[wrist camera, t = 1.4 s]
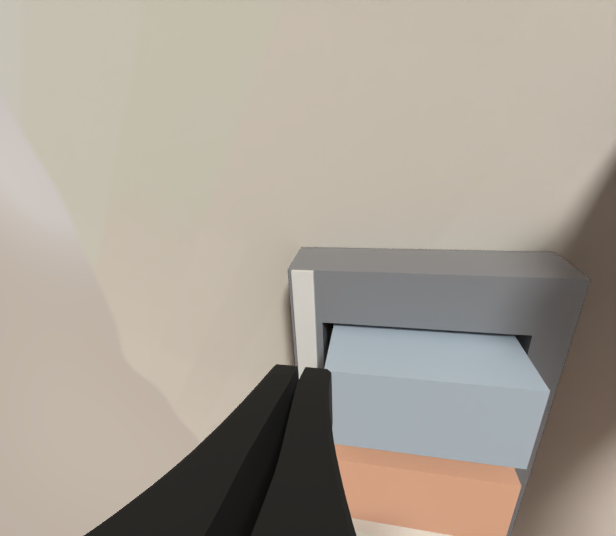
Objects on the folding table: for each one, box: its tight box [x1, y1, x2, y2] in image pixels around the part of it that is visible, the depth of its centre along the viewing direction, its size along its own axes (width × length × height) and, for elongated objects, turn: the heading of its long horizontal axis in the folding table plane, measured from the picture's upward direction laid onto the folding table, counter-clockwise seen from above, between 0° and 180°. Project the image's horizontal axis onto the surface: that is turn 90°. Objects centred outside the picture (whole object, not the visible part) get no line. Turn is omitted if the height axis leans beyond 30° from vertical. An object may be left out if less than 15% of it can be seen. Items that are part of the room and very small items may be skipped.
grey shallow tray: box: [288, 247, 591, 536], centre depth 19 cm, size 12×20×3 cm, turn 2°
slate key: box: [324, 323, 550, 469], centre depth 15 cm, size 8×4×4 cm, turn 92°
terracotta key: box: [334, 444, 521, 536], centre depth 17 cm, size 8×4×4 cm, turn 92°
